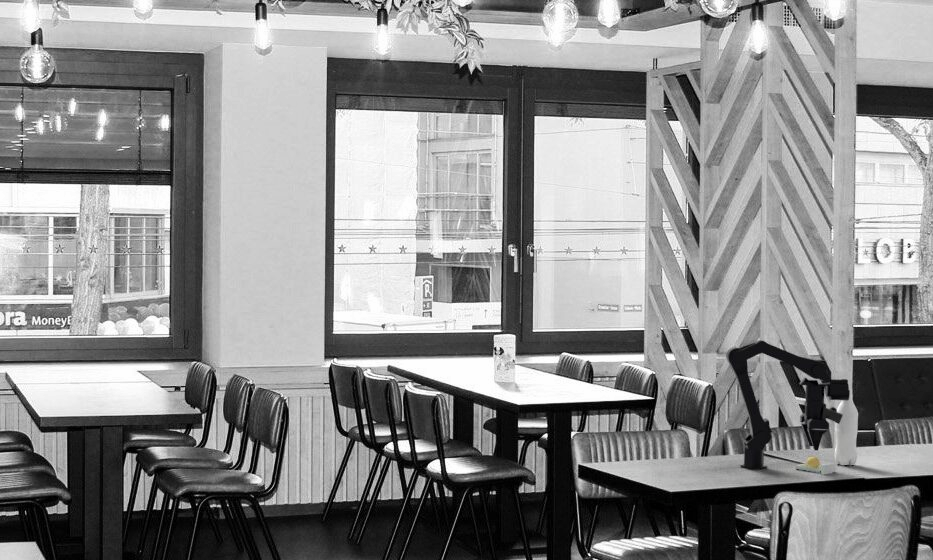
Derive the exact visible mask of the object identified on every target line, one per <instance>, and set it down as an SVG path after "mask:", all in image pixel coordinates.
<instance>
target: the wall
mask: <svg viewBox="0 0 933 560" xmlns="http://www.w3.org/2000/svg"><path fill="white" fill-rule="evenodd" d="M820 465H821V472H820V473H821V475H823V474H825V475H829V474H828V473H830V474H833V473H832V472H836V473H837V468H836V467H837V463H836V462H829V463H828V462H827V463H823V464H820Z"/></svg>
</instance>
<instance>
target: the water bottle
mask: <svg viewBox="0 0 933 560" xmlns="http://www.w3.org/2000/svg"><path fill="white" fill-rule="evenodd" d="M849 390H850V395H849V400H848V401H847V400H840V403H839V405H838V406H837V408H836V409H837V412H838V413H841V414H842V415H843V416H842V419H841V421H840V423H839V424H838V423H836V422H835V430H834V432H835V436H836V437H835V438H836V439H835V440H836V443H835V450H834V460H835V463H836V465H838V464H840V465H841V466H842V465H847V466H848V465H849V466H850V465H854V466H855V465H856V463H857V461H858V449H857V435H858V433H859V431H858V428H859V427H858V426H859V423H858V421H859V413H858V412H859V411H858V409H857V407H856V405H855V403H854V401H853V397H854V395H853V389H852V388H849Z"/></svg>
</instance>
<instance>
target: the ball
mask: <svg viewBox="0 0 933 560" xmlns="http://www.w3.org/2000/svg"><path fill="white" fill-rule="evenodd" d="M806 463H807V466H808V467H813V468H818V467H819V465H821V462H820V460H819V458H818V457H816V456H810V457H808V458H807V460H806Z"/></svg>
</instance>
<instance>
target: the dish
mask: <svg viewBox="0 0 933 560" xmlns="http://www.w3.org/2000/svg"><path fill="white" fill-rule="evenodd" d="M821 465H822V464H820V465H819V467H818V468H813V467H808V466H807V462H806V463H801V464H795V470H796V469H799V470H798V471H802V470H806V471H805V472H808V471H813V472H812V473H815V472H819V473H821V472H820V471H821Z"/></svg>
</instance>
